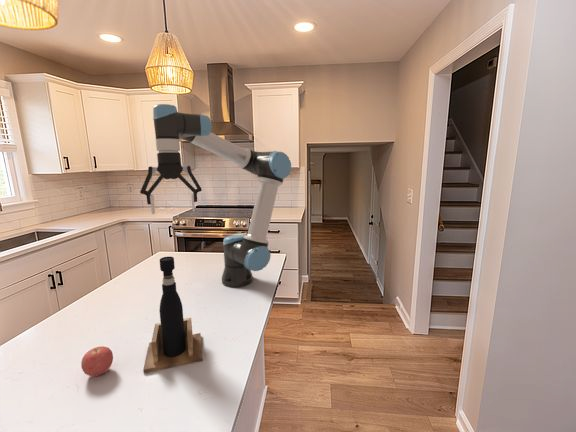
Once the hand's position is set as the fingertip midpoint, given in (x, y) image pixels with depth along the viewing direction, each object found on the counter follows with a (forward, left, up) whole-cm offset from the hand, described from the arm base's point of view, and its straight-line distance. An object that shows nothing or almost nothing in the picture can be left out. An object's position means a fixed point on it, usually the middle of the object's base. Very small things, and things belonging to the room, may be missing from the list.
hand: (174, 212), depth 105 cm
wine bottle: (+2, +24, -40) cm, 46 cm away
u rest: (+2, +23, -41) cm, 47 cm away
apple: (+22, +25, -41) cm, 53 cm away
